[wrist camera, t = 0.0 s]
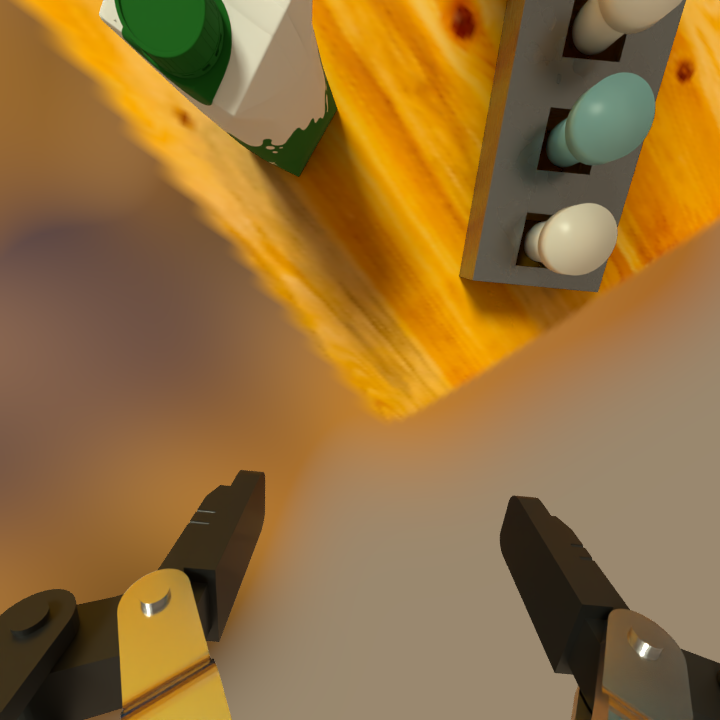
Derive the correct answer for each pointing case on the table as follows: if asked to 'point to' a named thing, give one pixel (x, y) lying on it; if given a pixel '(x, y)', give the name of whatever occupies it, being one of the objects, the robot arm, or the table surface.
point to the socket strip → (526, 133)
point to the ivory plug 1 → (573, 239)
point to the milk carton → (238, 67)
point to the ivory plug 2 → (615, 21)
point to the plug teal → (604, 122)
